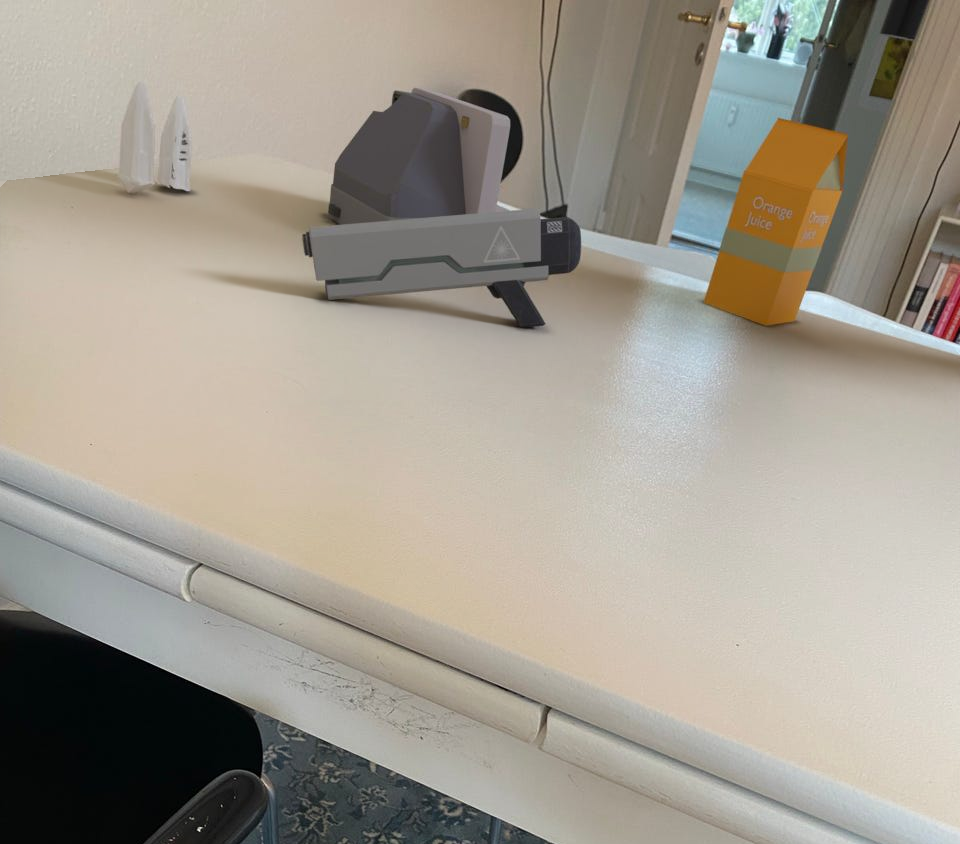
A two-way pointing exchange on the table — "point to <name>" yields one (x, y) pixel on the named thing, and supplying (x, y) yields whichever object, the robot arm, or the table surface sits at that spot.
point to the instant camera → (421, 161)
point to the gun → (446, 256)
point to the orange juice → (779, 223)
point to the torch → (904, 18)
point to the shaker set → (141, 145)
